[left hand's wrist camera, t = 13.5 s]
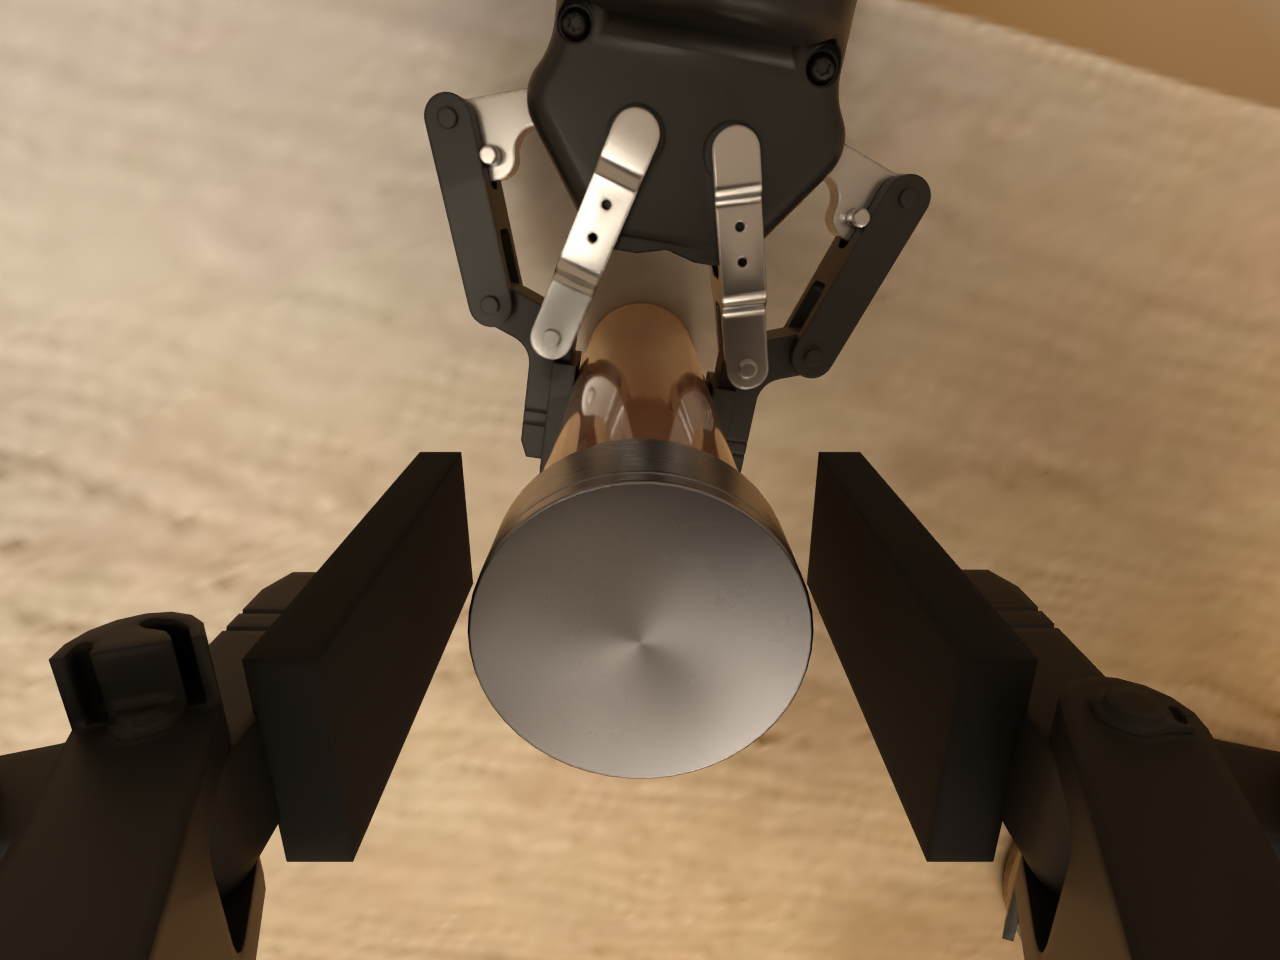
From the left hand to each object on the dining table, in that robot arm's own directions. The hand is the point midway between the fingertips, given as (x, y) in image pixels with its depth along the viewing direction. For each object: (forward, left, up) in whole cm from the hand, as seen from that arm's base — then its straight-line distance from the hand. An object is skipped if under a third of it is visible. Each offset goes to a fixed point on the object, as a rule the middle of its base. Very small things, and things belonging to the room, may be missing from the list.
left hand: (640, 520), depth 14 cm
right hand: (-1, +3, -9) cm, 10 cm away
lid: (0, 0, +4) cm, 4 cm away
